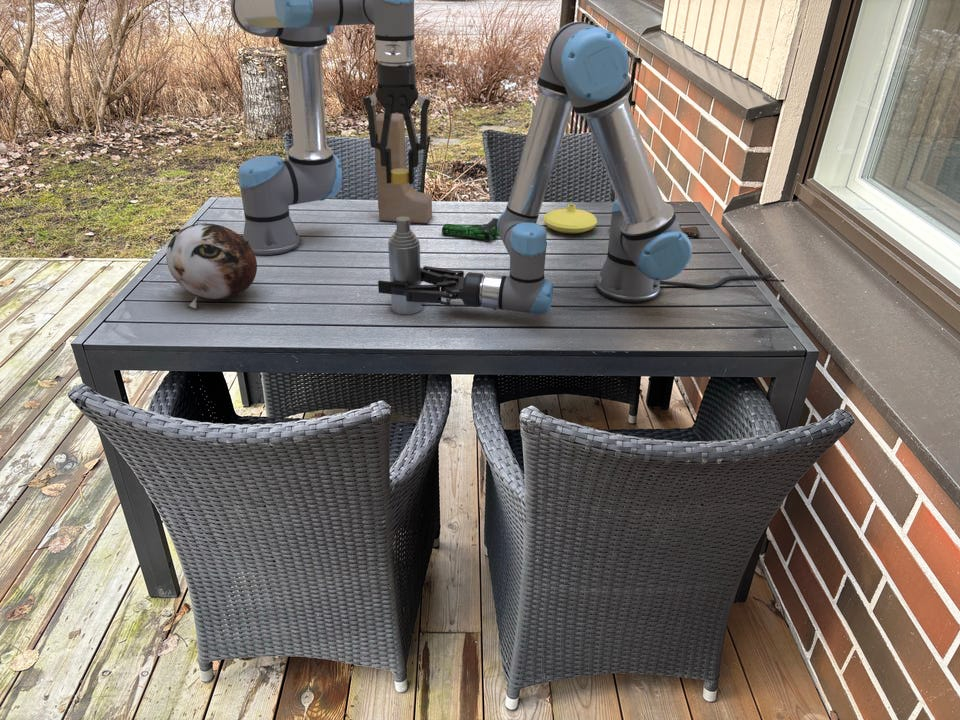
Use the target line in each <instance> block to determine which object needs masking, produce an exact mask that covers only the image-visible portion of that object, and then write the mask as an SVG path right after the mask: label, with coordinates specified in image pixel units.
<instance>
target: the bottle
mask: <svg viewBox="0 0 960 720" xmlns="http://www.w3.org/2000/svg"><path fill="white" fill-rule="evenodd" d="M395 224H396V229H395V231H394V232H393V233H392V235H391V236H390V238H389V239H388V242H387V249H388V267H389V282H398V283H408V286H413V285H422V282H421V269H422V268H421V267H422V266H421V241H420V239H419V237H418V236H417V235H416V234H415V233H414V231H413V230H412V229H411V222H410V218H409V217H405V216H401V217H397V218H396V222H395ZM390 303H391V305H390V307H391V310H392V311H393V312H394V313H396V314H399V315H414V314H416V313H419V312H420V311H421V310H422V308H423V304H422V303H420V302H407V301H406V296H402V295H394V294H390Z"/></svg>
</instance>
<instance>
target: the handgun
mask: <svg viewBox="0 0 960 720" xmlns="http://www.w3.org/2000/svg"><path fill="white" fill-rule="evenodd" d="M498 219H499V218H497V217H492V219H491V220H490V221H489V222H488V223H483V224H482V225H479V224H472V225H459V224H453V223H445V224H443V226H442V227H441V235H446V236H454V237H462V238H469V239H470V238H471V239H474V240H479V241H484V242H491V241H492V240H494V239H495V238H497V237H500V236H499V234H498V229H497V222H498Z"/></svg>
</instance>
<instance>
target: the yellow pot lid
mask: <svg viewBox="0 0 960 720" xmlns="http://www.w3.org/2000/svg"><path fill="white" fill-rule="evenodd" d="M543 222H544V225H545V226H546V227H548V228H550V229H551V230H554V231H556V232H559V233H564V234H580V233H584V232H585V233H586V232H587V231H591V230H592V229H594V228H596V226H597V223H598V219H597V217H596V215H595V214H593V213H591V212H589V211H587V210H584V209H578V208H576V205H575V204H571V203H570V204H567V208H557V209H552V210H549V211H548V212H547V213H545V214H544V216H543Z"/></svg>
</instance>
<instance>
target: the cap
mask: <svg viewBox="0 0 960 720" xmlns="http://www.w3.org/2000/svg"><path fill="white" fill-rule="evenodd" d="M390 175H391V182H392V183H394V184H407V183H409V168H406V169H404V168H397V169H393V170H391V174H390Z"/></svg>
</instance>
